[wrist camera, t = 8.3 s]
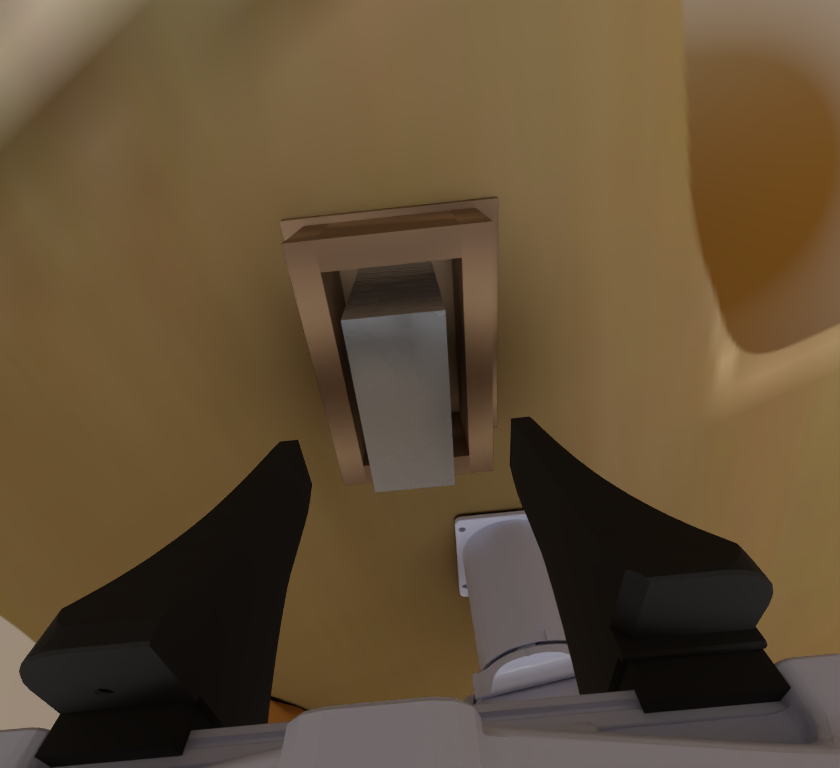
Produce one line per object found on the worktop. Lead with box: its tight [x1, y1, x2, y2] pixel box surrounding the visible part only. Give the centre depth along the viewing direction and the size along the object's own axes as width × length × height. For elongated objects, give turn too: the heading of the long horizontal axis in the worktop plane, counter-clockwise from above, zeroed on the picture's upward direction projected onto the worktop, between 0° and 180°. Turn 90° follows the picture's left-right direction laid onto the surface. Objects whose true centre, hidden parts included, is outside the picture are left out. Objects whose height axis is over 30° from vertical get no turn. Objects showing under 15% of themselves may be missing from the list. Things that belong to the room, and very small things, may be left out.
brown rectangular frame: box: [279, 197, 498, 485], centre depth 20 cm, size 13×10×4 cm
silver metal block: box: [341, 261, 455, 492], centre depth 18 cm, size 8×4×7 cm, turn 5°
